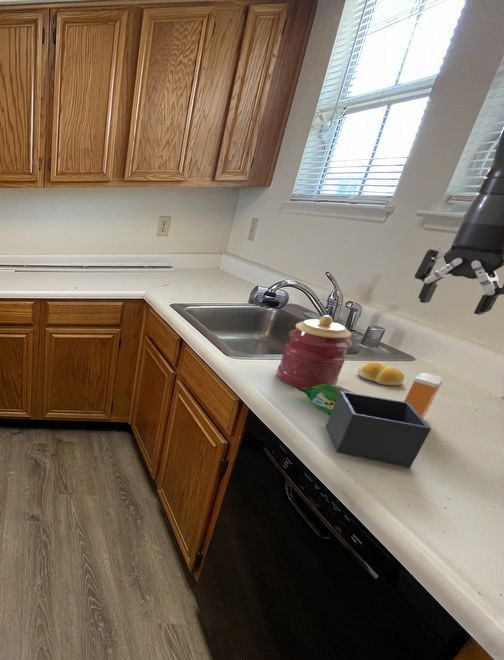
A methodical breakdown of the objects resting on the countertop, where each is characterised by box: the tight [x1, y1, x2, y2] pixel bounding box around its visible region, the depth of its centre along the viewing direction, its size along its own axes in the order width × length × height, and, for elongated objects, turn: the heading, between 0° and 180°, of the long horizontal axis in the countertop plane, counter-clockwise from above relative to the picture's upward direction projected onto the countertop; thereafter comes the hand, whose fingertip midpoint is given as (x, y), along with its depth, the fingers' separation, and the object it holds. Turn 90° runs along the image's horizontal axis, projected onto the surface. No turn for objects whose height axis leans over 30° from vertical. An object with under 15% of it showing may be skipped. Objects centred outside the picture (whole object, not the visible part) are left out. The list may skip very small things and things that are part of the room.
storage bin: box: [325, 391, 432, 469], centre depth 81 cm, size 11×10×9 cm
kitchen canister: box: [276, 314, 353, 389], centre depth 104 cm, size 13×13×18 cm
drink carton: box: [403, 371, 445, 419], centre depth 90 cm, size 4×5×10 cm
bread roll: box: [357, 361, 405, 386], centre depth 109 cm, size 8×9×4 cm
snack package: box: [298, 384, 357, 415], centre depth 93 cm, size 7×16×5 cm, turn 21°
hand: (450, 307), depth 83 cm, fingers open, 8 cm apart
